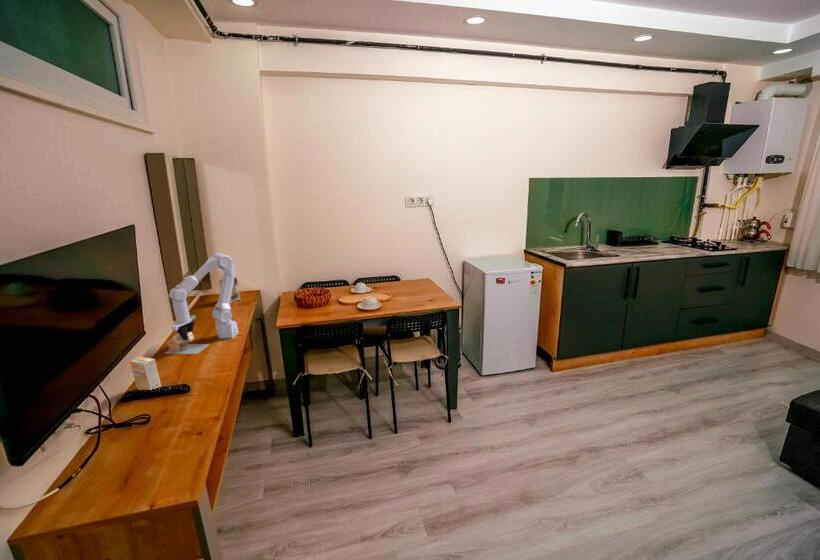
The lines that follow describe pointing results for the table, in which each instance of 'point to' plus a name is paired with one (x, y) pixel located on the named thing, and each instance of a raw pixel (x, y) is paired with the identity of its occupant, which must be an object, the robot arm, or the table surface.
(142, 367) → the supplement box
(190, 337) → the beige rectangular block
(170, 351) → the board
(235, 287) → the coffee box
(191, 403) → the table surface
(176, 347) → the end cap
